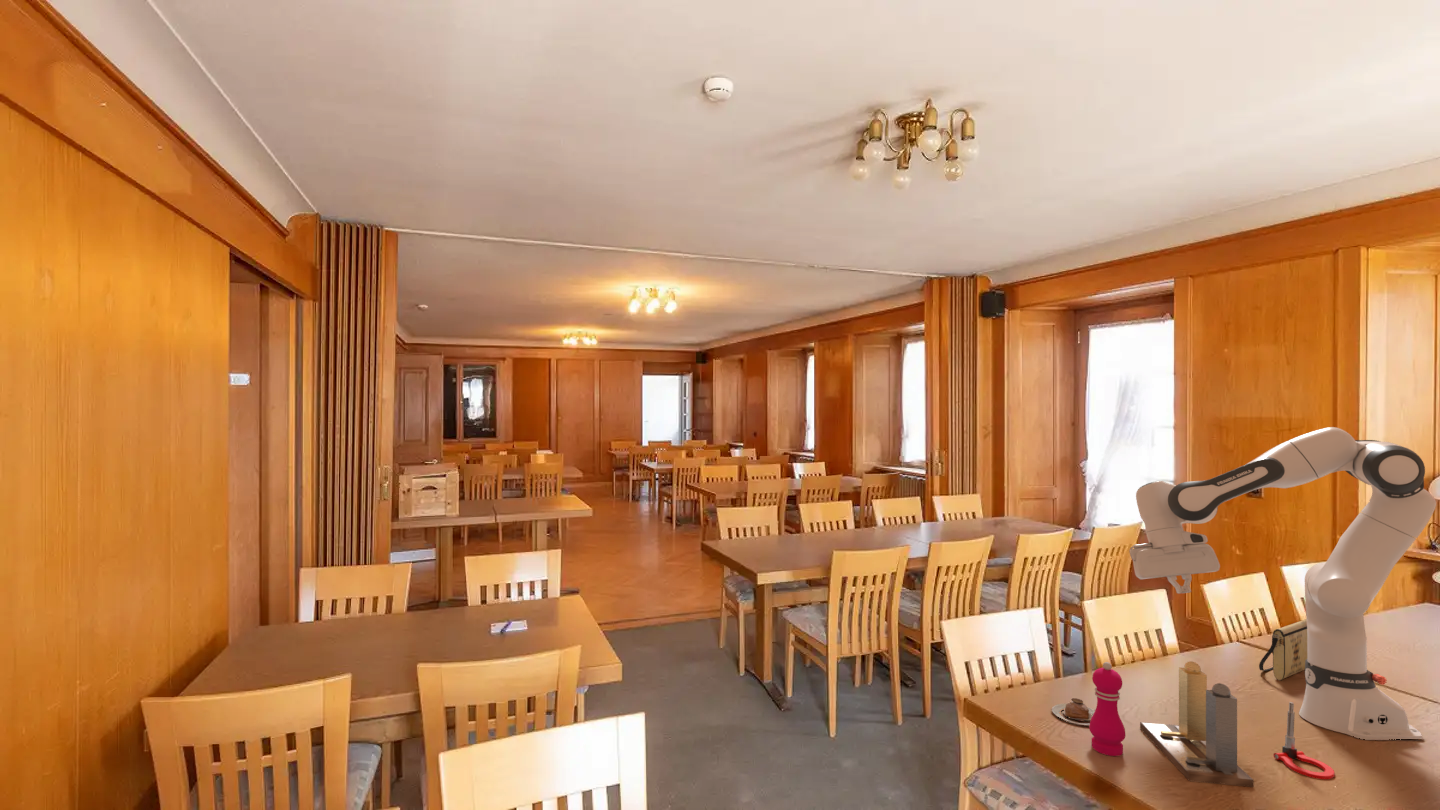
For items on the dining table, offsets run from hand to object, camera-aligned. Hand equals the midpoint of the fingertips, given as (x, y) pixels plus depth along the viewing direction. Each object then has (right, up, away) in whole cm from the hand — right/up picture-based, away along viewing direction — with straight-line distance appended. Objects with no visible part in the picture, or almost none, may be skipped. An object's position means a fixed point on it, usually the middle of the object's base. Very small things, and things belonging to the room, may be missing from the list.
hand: (1184, 593), depth 179 cm
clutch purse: (+48, -30, +24) cm, 62 cm away
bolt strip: (-18, -28, -27) cm, 43 cm away
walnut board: (-17, -29, -27) cm, 43 cm away
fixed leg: (-19, -27, -35) cm, 48 cm away
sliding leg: (-16, -27, -23) cm, 39 cm away
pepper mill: (-35, -29, -25) cm, 52 cm away
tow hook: (+5, -30, -32) cm, 44 cm away
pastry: (-33, -30, -8) cm, 45 cm away
